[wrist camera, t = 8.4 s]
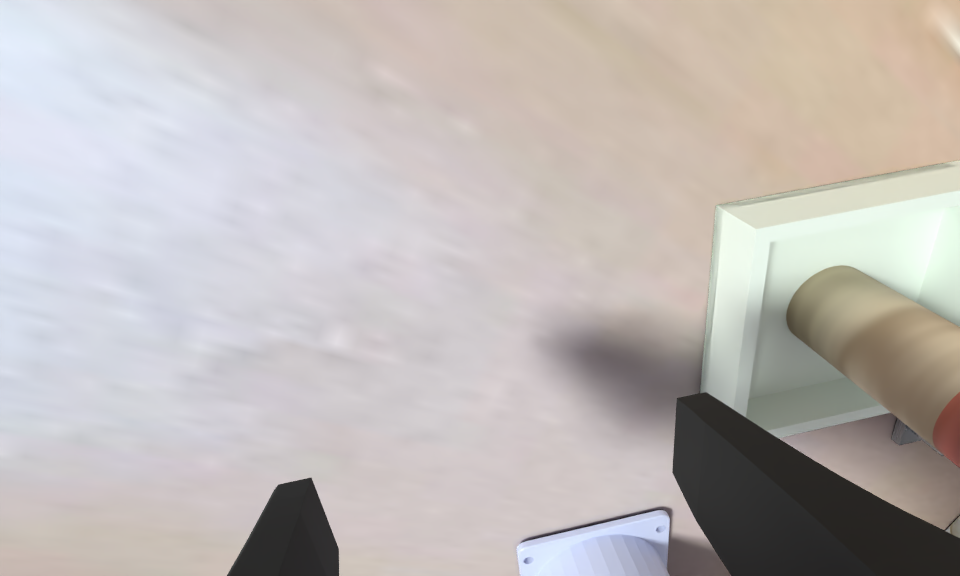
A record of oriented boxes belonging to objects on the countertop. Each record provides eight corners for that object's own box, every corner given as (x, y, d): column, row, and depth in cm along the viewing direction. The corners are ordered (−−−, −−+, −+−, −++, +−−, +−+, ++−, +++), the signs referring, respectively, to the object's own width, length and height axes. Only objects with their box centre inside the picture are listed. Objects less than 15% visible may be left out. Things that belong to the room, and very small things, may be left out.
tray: (897, 367, 26) (944, 400, 24) (698, 411, 26) (728, 449, 23) (959, 160, 22) (1025, 177, 19) (715, 205, 21) (756, 229, 18)
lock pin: (860, 327, 24) (1050, 456, 17) (783, 349, 24) (945, 487, 17) (871, 255, 22) (1088, 367, 16) (789, 278, 22) (970, 401, 15)
